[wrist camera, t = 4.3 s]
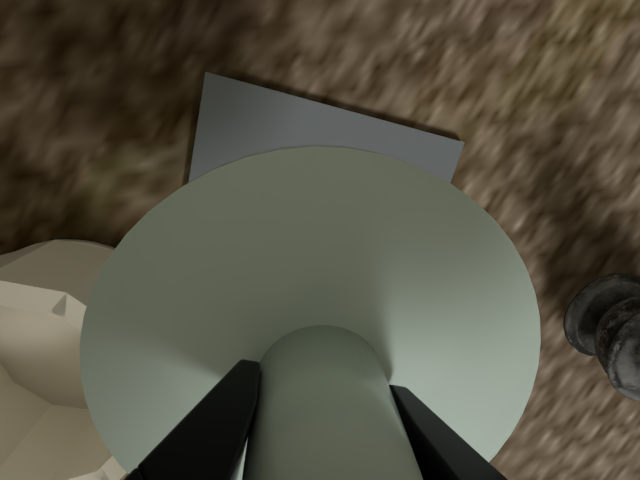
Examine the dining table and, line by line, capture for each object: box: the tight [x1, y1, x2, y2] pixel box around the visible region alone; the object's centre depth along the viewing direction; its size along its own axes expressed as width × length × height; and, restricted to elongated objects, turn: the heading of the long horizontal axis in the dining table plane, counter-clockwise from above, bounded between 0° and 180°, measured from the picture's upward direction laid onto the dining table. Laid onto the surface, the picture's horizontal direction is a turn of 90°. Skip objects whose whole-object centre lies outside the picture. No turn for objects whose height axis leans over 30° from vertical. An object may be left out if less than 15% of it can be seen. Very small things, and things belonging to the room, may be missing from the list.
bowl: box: [0, 239, 127, 480], centre depth 17 cm, size 10×10×5 cm
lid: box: [80, 145, 541, 480], centre depth 7 cm, size 10×10×5 cm
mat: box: [188, 72, 465, 183], centre depth 19 cm, size 12×12×1 cm
